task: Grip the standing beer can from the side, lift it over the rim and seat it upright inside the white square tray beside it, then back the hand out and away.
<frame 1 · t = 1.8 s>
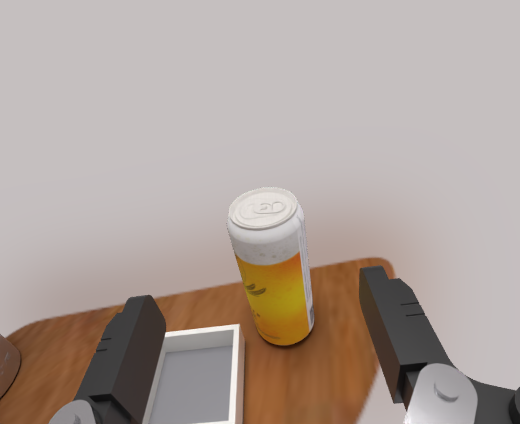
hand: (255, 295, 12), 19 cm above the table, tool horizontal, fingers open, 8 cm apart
white square tray: (197, 390, 28), on the table
beer can: (285, 323, 32), on the table
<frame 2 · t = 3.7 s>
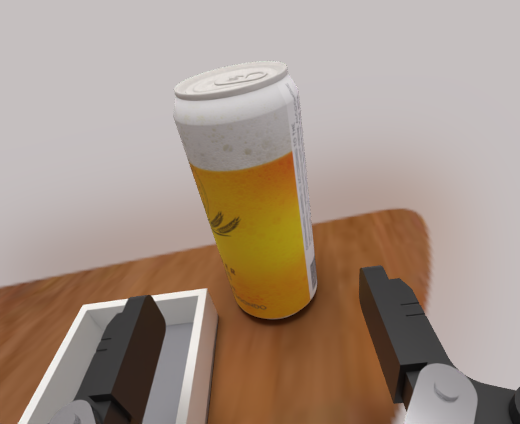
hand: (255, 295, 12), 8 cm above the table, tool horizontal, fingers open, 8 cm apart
white square tray: (142, 386, 19), on the table
beer can: (276, 291, 23), on the table
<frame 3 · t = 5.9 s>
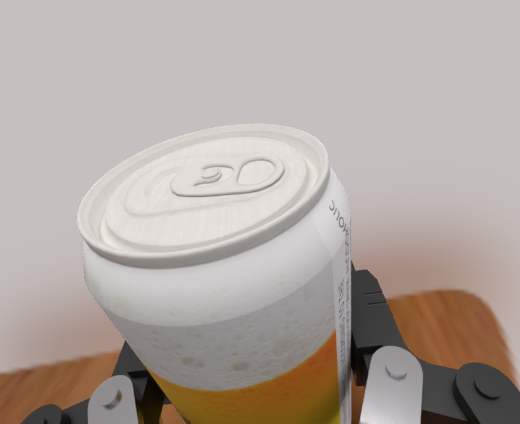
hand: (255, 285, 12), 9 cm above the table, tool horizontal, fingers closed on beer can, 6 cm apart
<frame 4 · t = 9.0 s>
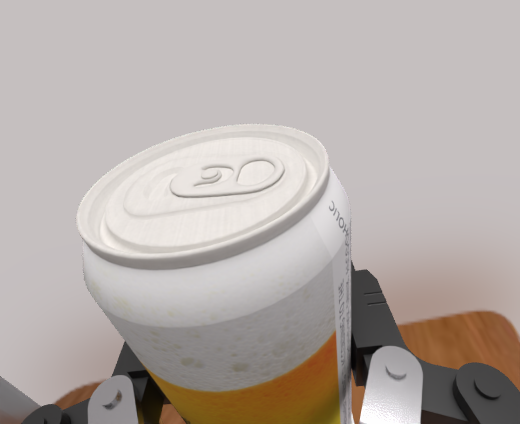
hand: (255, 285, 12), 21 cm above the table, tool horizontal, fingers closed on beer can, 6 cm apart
when the fingers open (10 cm above the table, at t = 12.2 s): beer can stays where it is, resting on white square tray.
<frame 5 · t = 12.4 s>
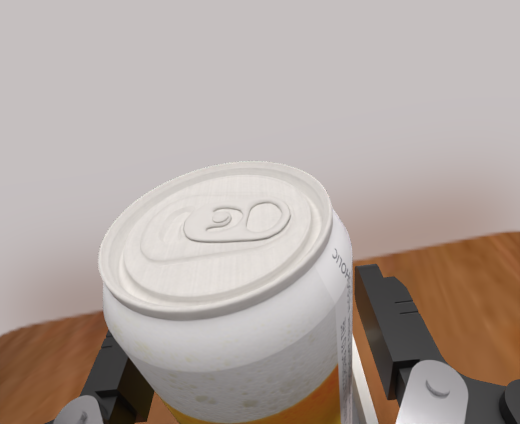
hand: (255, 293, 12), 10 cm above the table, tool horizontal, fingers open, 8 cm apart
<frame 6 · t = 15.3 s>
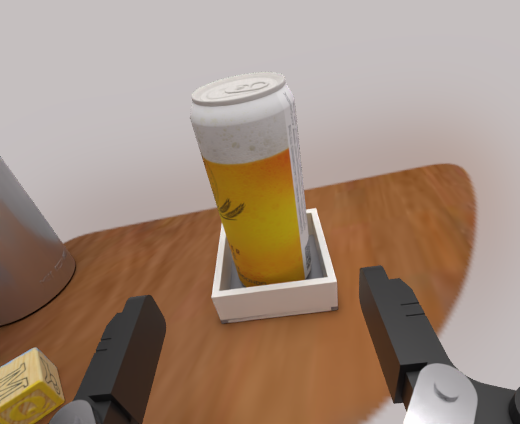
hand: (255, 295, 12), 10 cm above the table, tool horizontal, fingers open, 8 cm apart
alphabet block: (41, 401, 21), on the table
white square tray: (275, 273, 26), on the table
beer can: (275, 273, 26), resting on white square tray
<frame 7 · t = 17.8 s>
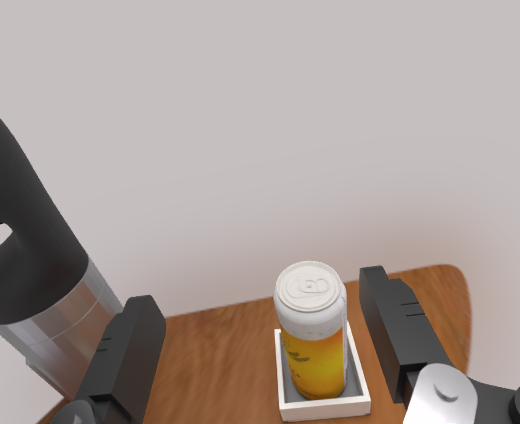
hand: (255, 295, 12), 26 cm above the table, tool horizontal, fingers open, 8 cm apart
white square tray: (318, 375, 34), on the table
beer can: (319, 375, 34), resting on white square tray
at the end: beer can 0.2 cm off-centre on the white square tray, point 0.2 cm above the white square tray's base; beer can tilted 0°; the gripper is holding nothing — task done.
